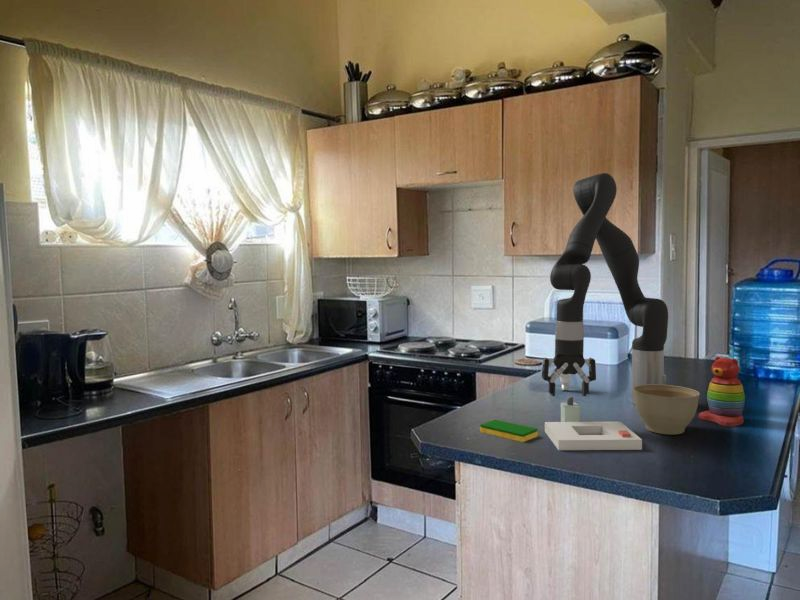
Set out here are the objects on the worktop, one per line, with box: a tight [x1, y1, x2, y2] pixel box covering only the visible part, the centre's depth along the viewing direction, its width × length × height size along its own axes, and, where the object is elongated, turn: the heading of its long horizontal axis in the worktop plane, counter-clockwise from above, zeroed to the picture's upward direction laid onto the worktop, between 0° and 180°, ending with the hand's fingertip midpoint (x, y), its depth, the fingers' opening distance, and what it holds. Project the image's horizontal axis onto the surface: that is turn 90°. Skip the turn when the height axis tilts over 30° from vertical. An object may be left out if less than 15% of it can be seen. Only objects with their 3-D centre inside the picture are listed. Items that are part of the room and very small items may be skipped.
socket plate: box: [544, 420, 643, 451], centre depth 156 cm, size 20×16×3 cm
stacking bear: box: [698, 356, 746, 428], centre depth 171 cm, size 11×10×18 cm
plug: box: [560, 396, 581, 422], centre depth 169 cm, size 4×5×8 cm
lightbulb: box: [558, 373, 574, 392], centre depth 212 cm, size 6×6×11 cm
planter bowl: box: [633, 384, 701, 436], centre depth 163 cm, size 16×16×11 cm
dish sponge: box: [479, 419, 539, 443], centre depth 163 cm, size 7×14×2 cm, turn 45°
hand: (568, 395), depth 169 cm, fingers open, 8 cm apart
